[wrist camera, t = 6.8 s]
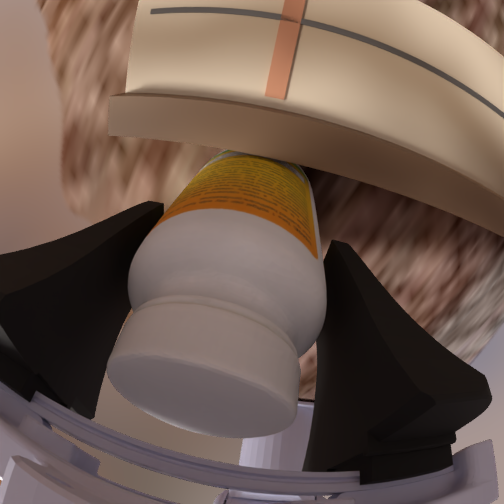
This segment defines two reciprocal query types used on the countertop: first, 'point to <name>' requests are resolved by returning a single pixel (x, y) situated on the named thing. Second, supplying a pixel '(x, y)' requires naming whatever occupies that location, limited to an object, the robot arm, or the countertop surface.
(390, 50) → the board
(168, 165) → the countertop surface
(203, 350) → the supplement bottle
